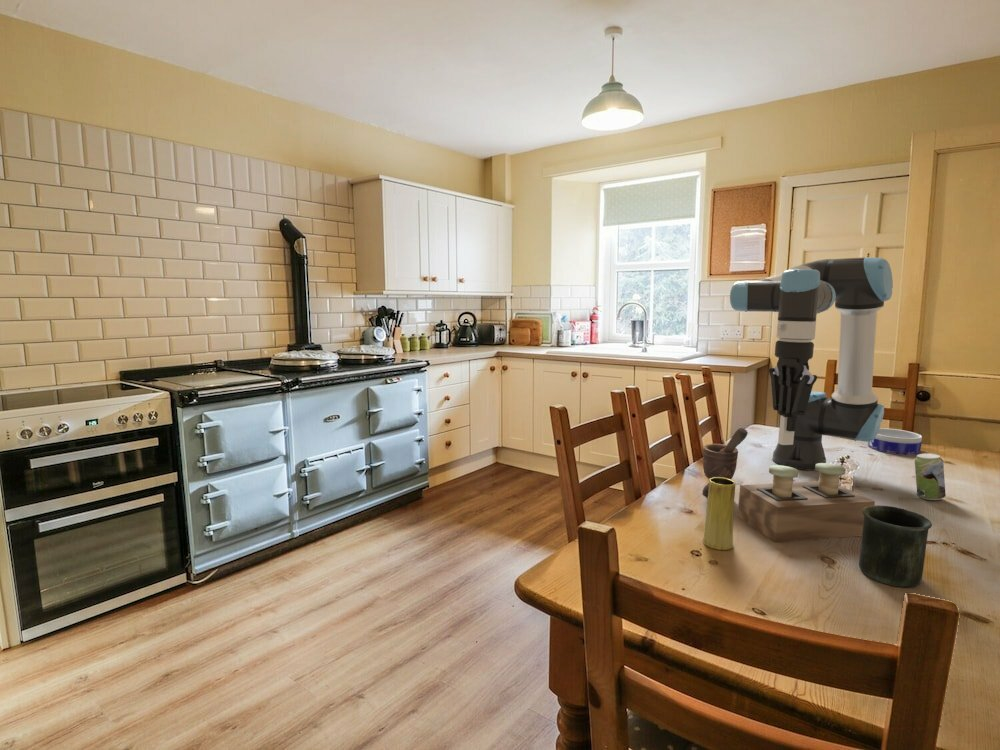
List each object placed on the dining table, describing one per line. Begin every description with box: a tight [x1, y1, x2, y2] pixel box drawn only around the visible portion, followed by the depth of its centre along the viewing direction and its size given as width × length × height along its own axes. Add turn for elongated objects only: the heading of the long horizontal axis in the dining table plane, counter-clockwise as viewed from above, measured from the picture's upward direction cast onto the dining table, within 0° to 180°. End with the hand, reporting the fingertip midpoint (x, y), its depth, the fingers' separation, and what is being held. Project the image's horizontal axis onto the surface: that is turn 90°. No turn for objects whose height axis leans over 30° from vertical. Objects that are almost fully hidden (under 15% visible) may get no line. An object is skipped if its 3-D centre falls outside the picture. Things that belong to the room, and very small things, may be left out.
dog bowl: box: [867, 427, 923, 456], centre depth 194 cm, size 15×15×6 cm
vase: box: [702, 477, 736, 551], centre depth 118 cm, size 6×6×14 cm
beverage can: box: [914, 452, 947, 501], centre depth 146 cm, size 6×7×12 cm
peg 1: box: [768, 464, 800, 498], centre depth 127 cm, size 6×6×8 cm
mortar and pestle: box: [702, 427, 749, 497], centre depth 146 cm, size 12×9×20 cm
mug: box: [858, 504, 933, 588], centre depth 107 cm, size 11×15×12 cm
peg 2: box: [815, 462, 846, 495], centre depth 129 cm, size 6×6×8 cm
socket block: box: [737, 480, 876, 543], centre depth 128 cm, size 14×24×8 cm, turn 99°
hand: (785, 443), depth 125 cm, fingers closed
